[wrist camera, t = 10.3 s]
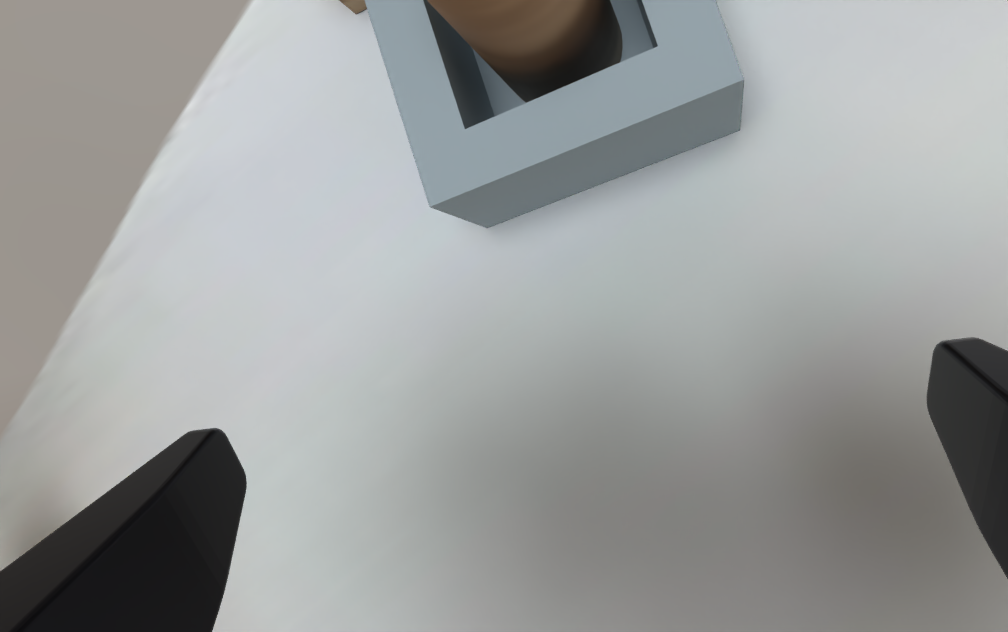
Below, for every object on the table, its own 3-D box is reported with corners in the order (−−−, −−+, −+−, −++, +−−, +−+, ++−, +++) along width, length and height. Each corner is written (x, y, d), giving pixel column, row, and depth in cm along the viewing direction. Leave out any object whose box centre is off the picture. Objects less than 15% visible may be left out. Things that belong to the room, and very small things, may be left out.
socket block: (739, 132, 21) (744, 79, 17) (489, 229, 23) (429, 206, 19) (650, -116, 22) (630, -235, 17) (416, 0, 24) (340, -77, 19)
